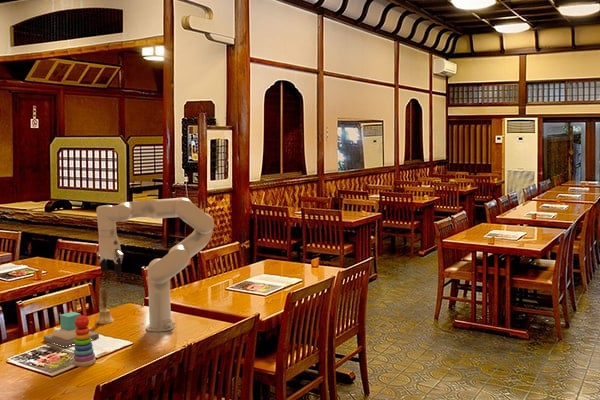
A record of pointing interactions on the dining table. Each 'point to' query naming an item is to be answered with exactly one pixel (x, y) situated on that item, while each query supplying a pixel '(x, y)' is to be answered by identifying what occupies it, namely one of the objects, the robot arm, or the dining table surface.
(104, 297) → the hand bell
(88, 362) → the stacking toy
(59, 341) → the stack base
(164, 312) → the robot arm
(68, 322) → the teal cube
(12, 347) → the dining table surface
